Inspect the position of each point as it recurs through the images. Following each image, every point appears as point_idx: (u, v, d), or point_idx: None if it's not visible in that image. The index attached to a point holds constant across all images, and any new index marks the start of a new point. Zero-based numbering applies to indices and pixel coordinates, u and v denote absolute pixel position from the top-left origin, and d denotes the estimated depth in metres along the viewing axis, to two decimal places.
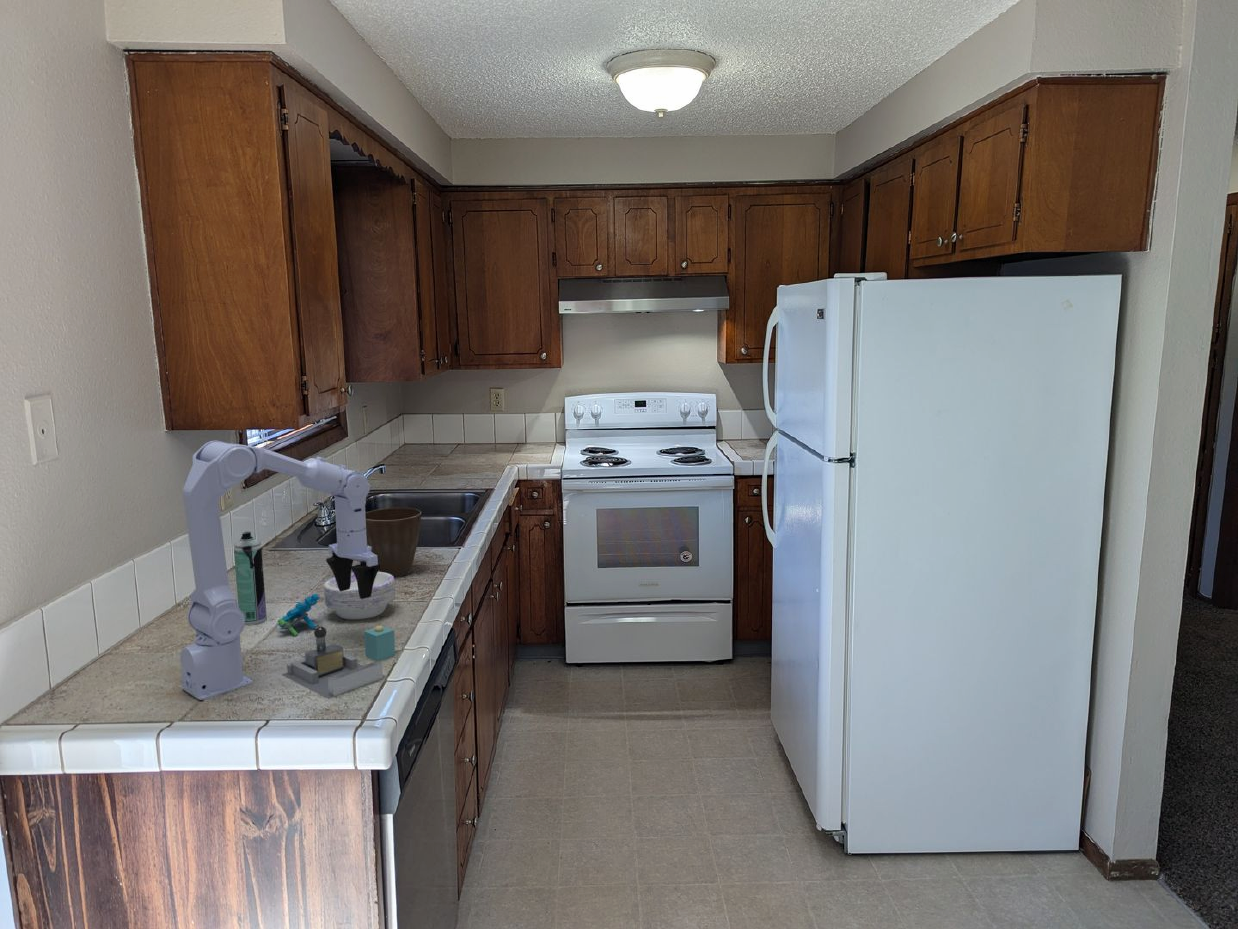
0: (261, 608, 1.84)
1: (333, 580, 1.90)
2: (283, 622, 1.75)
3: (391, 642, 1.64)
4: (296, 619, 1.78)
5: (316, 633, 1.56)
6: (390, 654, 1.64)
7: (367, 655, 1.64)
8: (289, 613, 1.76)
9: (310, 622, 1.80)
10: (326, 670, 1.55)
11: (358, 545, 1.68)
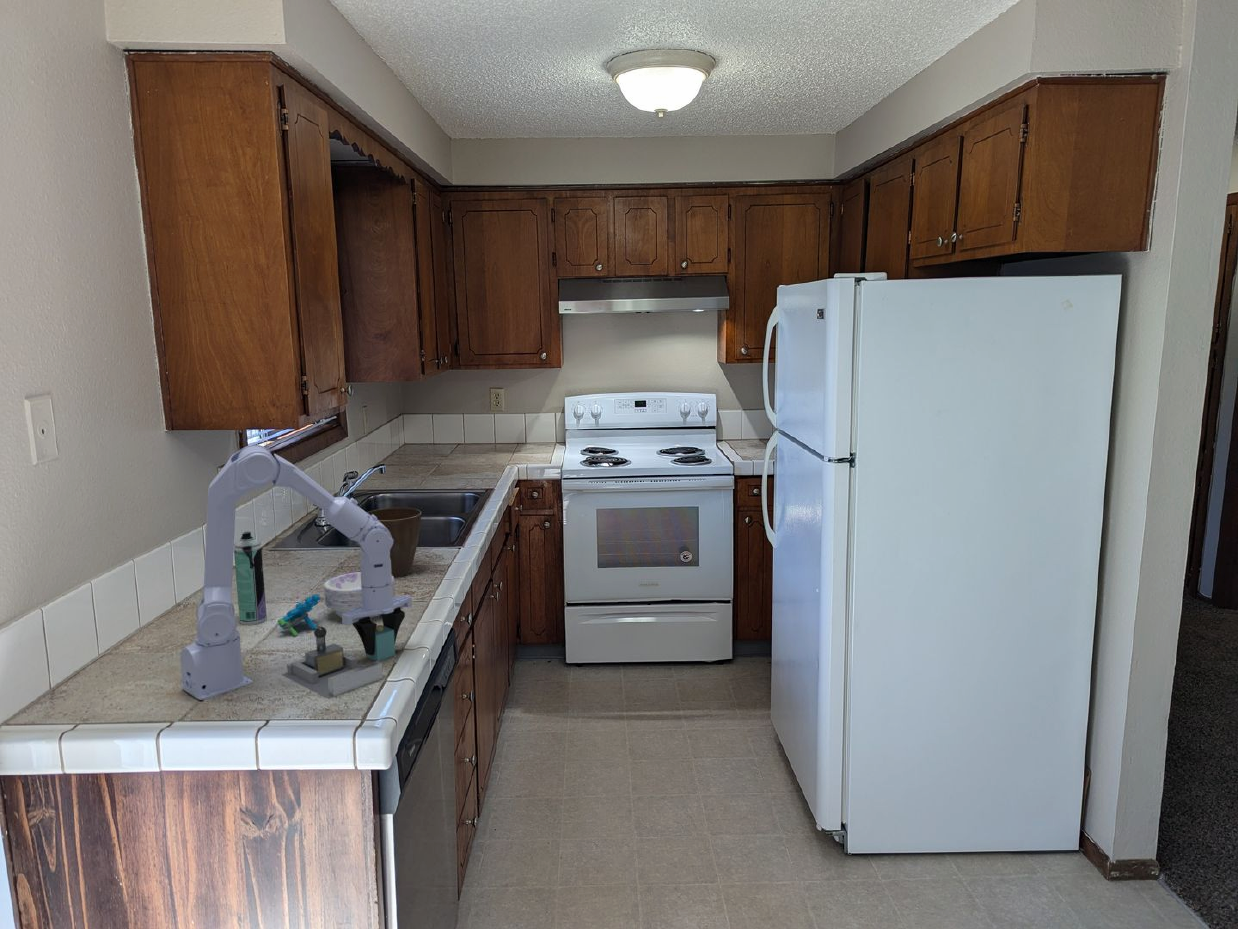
0: (261, 608, 1.84)
1: (333, 580, 1.90)
2: (283, 622, 1.75)
3: (391, 642, 1.64)
4: (296, 619, 1.78)
5: (316, 633, 1.56)
6: (390, 654, 1.64)
7: (367, 655, 1.64)
8: (289, 613, 1.75)
9: (310, 622, 1.80)
10: (326, 670, 1.55)
11: (363, 601, 1.61)
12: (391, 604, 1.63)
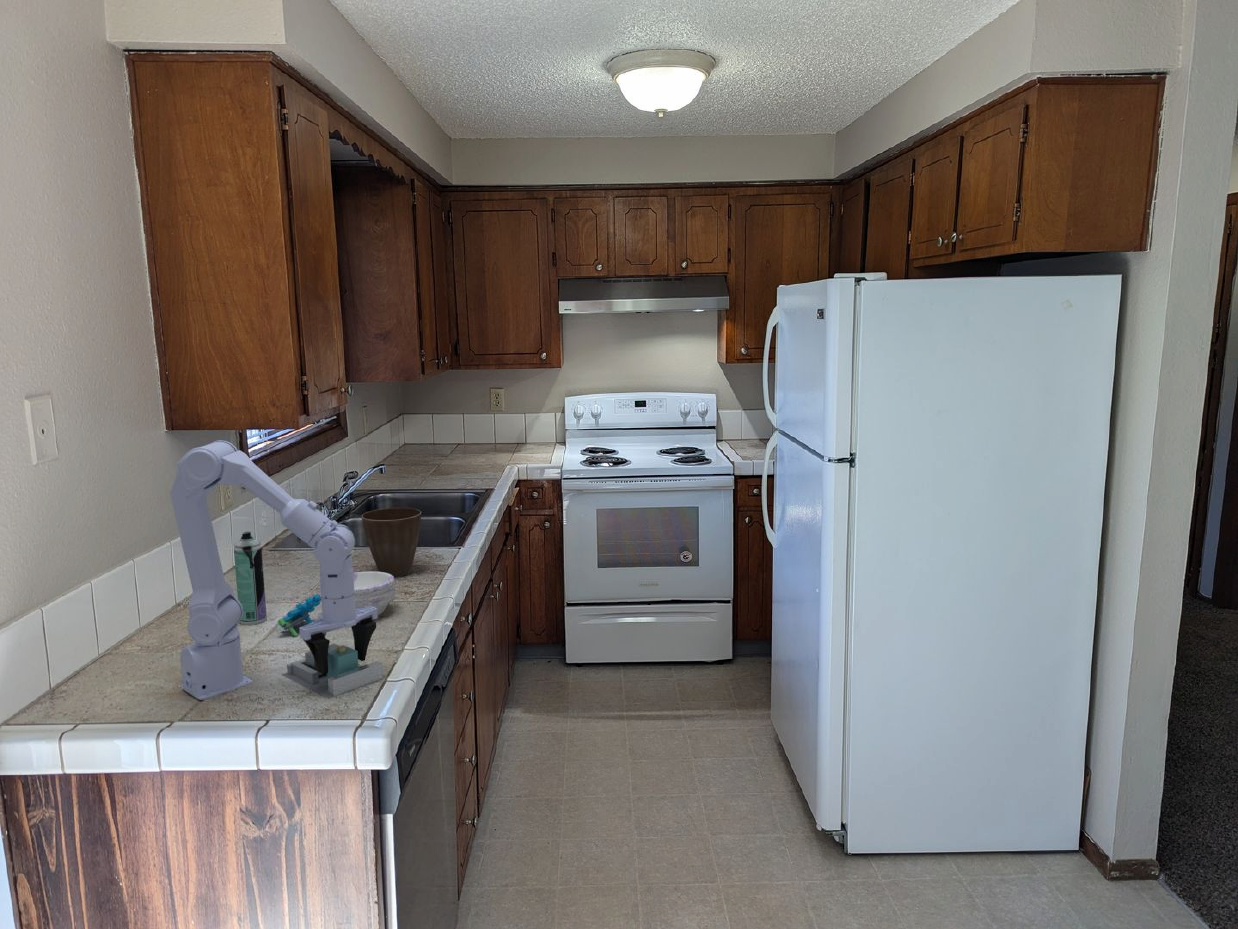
0: (261, 608, 1.84)
1: None
2: (283, 622, 1.75)
3: (355, 664, 1.53)
4: (297, 620, 1.77)
5: None
6: None
7: None
8: (289, 613, 1.75)
9: None
10: None
11: (323, 613, 1.50)
12: (354, 616, 1.51)
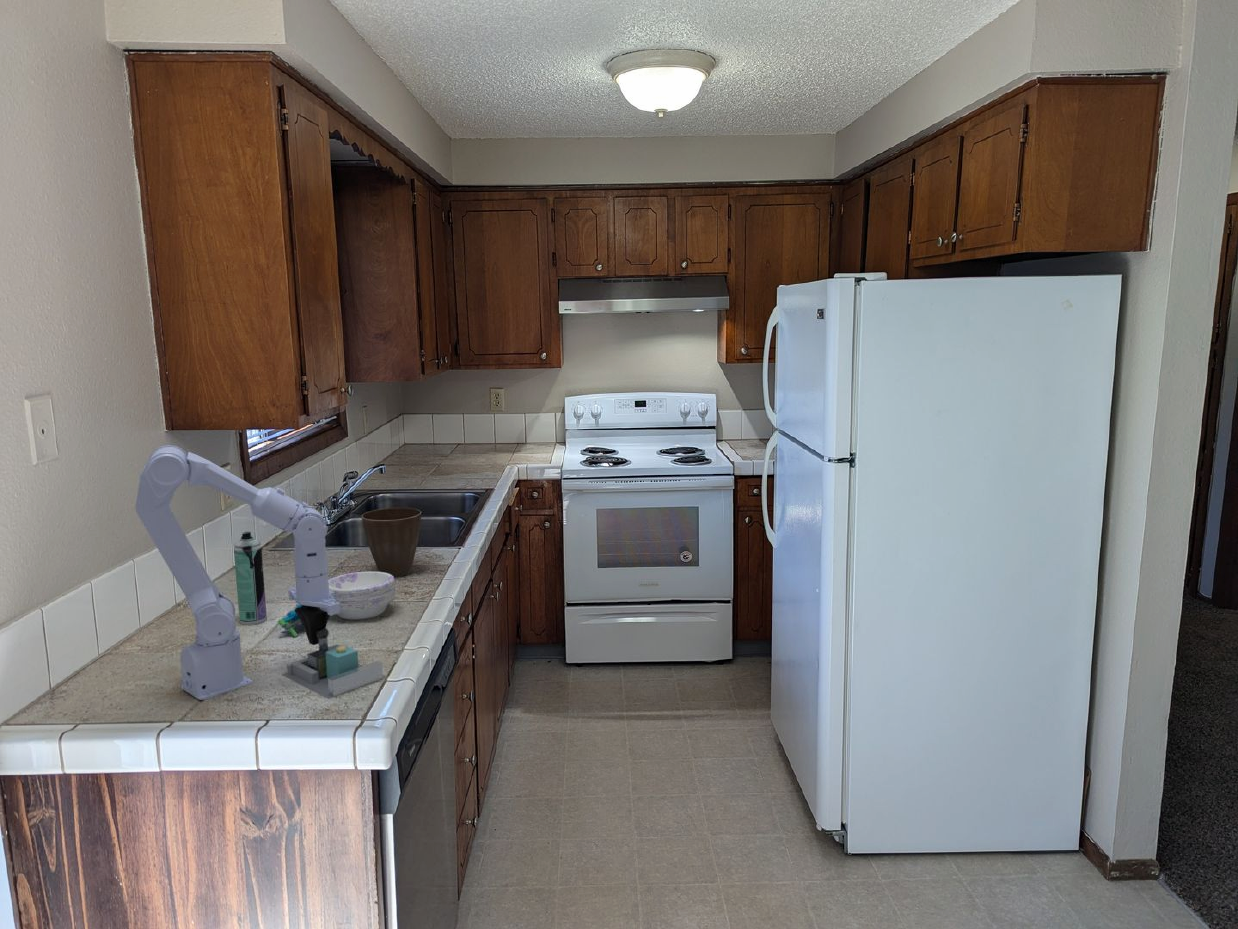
0: (261, 608, 1.84)
1: (333, 580, 1.90)
2: (283, 623, 1.75)
3: (355, 664, 1.53)
4: (297, 620, 1.77)
5: (318, 634, 1.55)
6: None
7: None
8: (289, 614, 1.75)
9: None
10: None
11: (319, 591, 1.55)
12: None
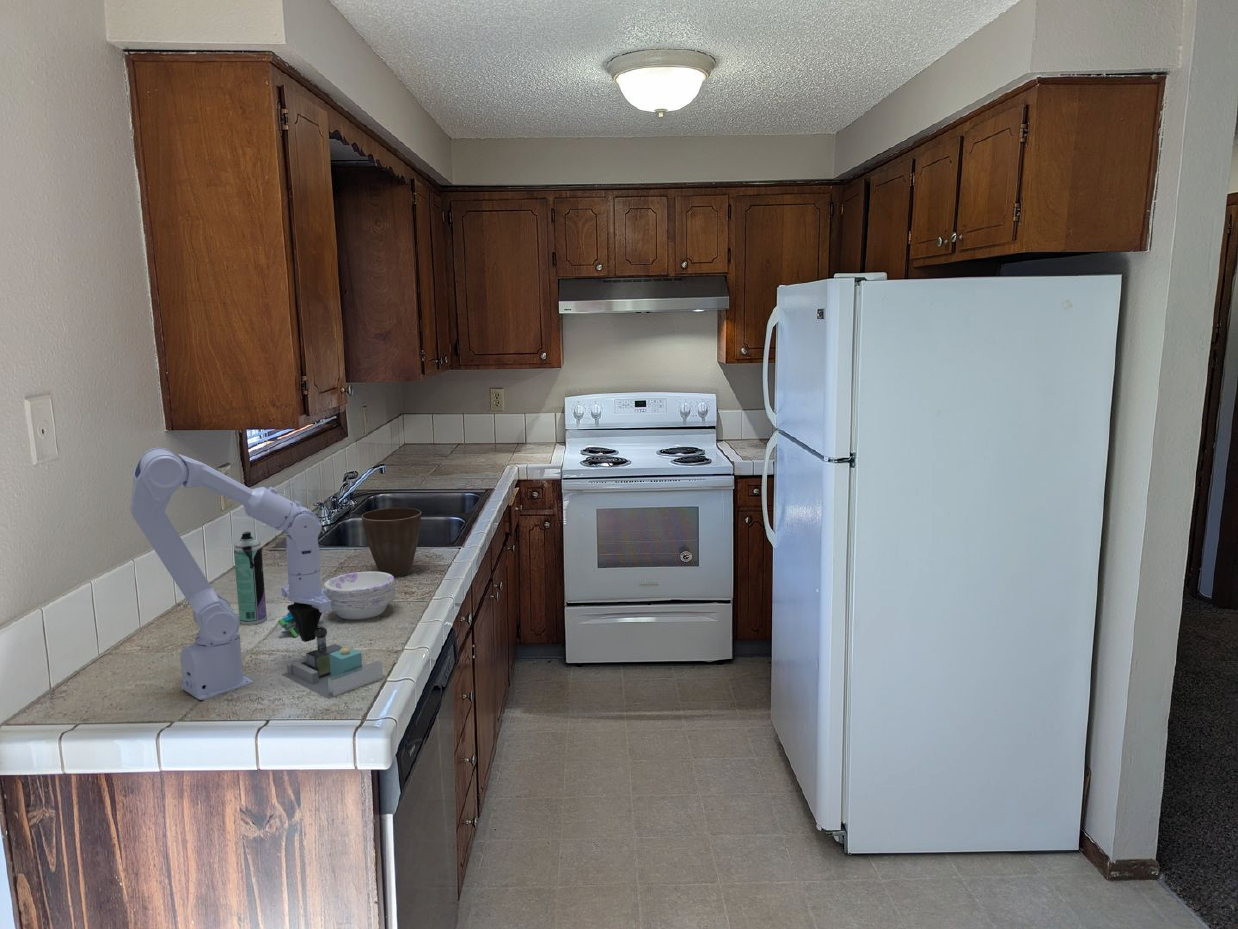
0: (261, 608, 1.84)
1: (333, 580, 1.90)
2: (283, 623, 1.75)
3: (359, 665, 1.52)
4: None
5: (317, 633, 1.56)
6: None
7: None
8: (289, 614, 1.75)
9: None
10: (327, 670, 1.55)
11: (311, 589, 1.56)
12: None
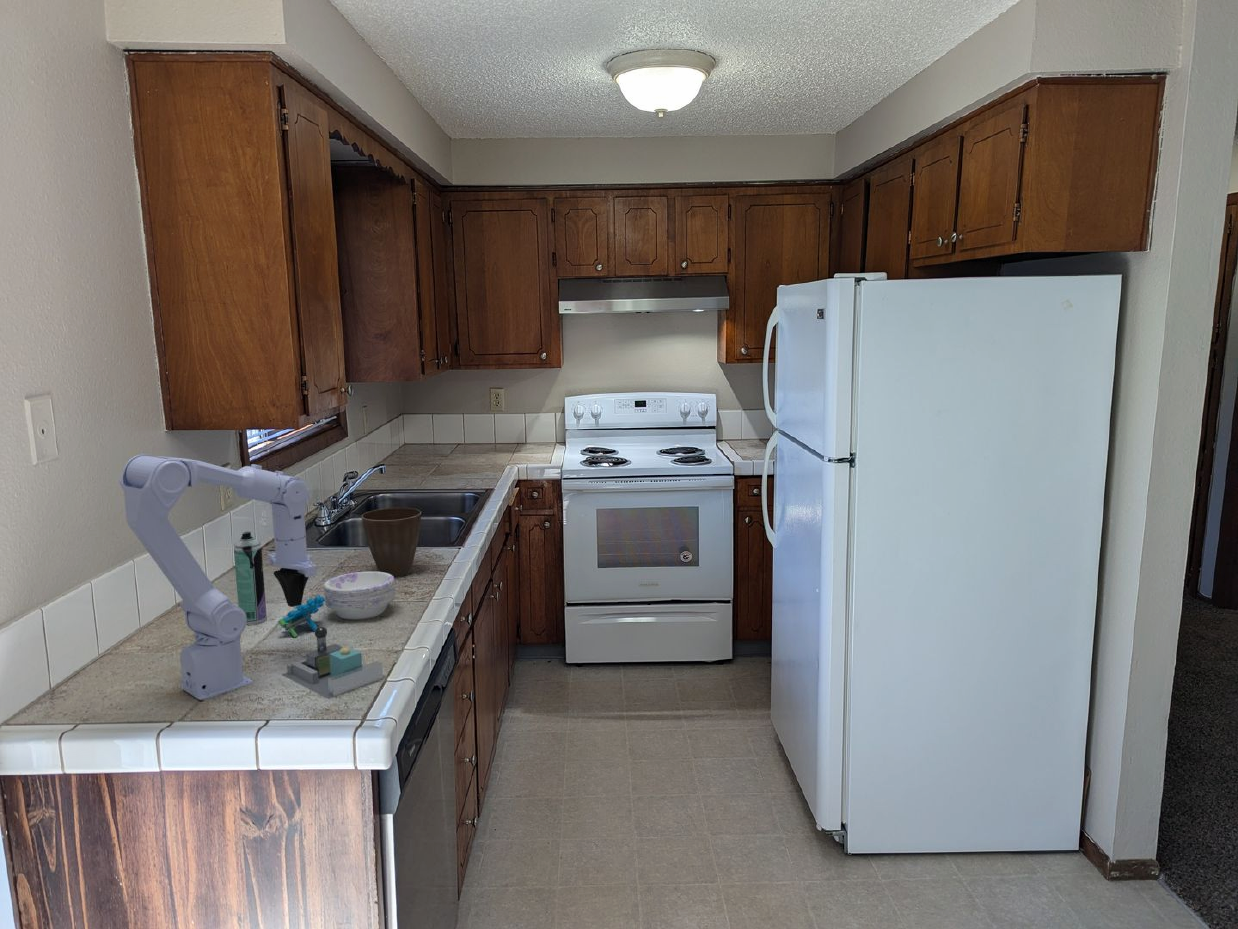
0: (261, 608, 1.84)
1: (333, 580, 1.90)
2: (283, 623, 1.75)
3: (359, 665, 1.52)
4: (297, 620, 1.77)
5: (317, 633, 1.56)
6: None
7: None
8: (289, 614, 1.75)
9: (312, 624, 1.79)
10: (327, 670, 1.55)
11: (297, 555, 1.60)
12: None
